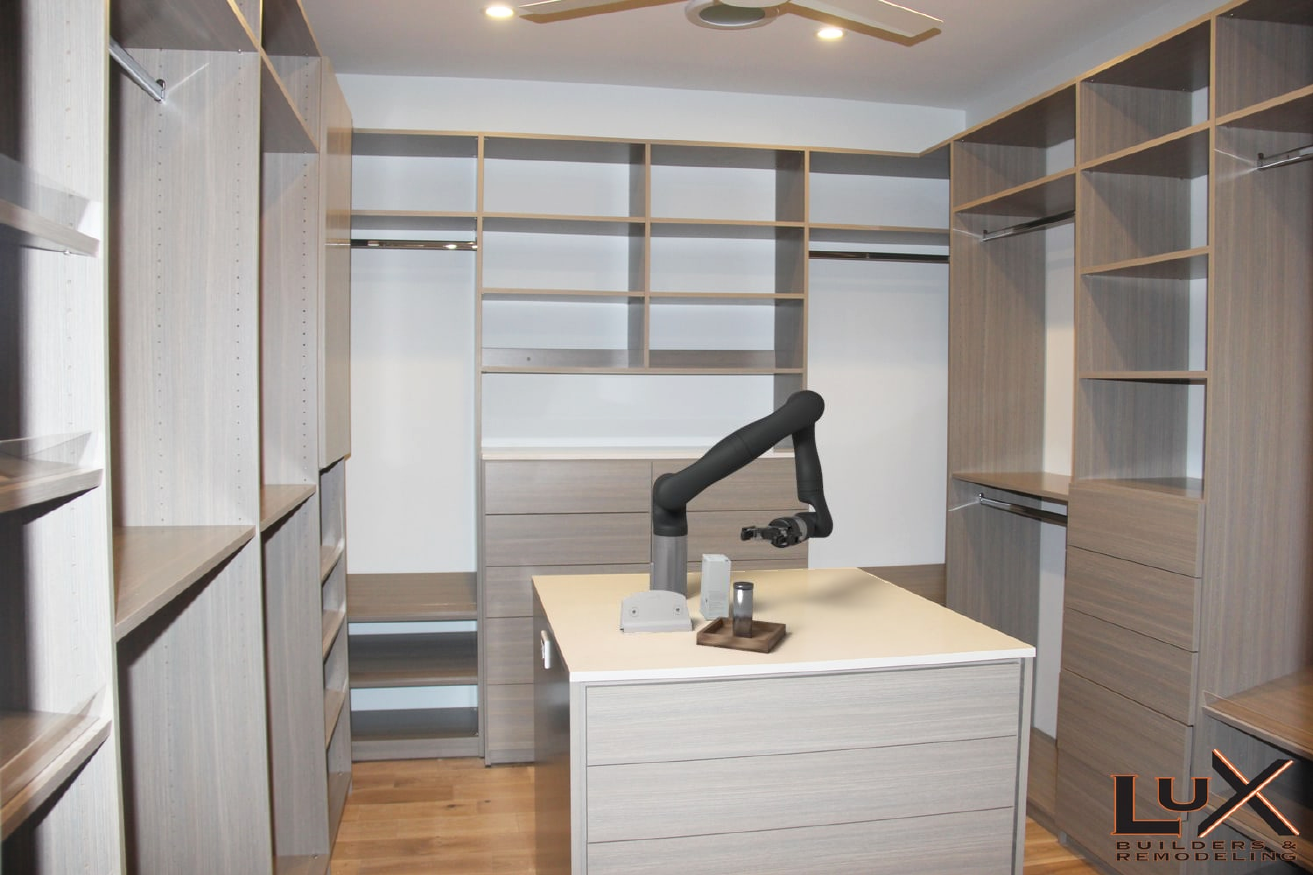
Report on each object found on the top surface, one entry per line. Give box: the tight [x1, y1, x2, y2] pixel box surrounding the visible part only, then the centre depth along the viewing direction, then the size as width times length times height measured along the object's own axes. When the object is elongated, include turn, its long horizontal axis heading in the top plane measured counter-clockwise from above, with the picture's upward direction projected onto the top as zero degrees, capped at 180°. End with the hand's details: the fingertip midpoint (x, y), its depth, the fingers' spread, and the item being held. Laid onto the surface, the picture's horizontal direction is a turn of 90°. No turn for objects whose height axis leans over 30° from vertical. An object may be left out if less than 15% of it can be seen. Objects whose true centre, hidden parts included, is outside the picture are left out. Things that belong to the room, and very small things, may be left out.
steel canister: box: [732, 581, 755, 638], centre depth 202 cm, size 5×5×12 cm
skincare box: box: [699, 553, 732, 621], centre depth 222 cm, size 8×6×15 cm
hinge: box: [619, 589, 693, 634], centre depth 211 cm, size 17×5×10 cm, turn 104°
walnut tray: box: [695, 616, 787, 654], centre depth 202 cm, size 16×16×2 cm
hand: (758, 538), depth 215 cm, fingers open, 8 cm apart
